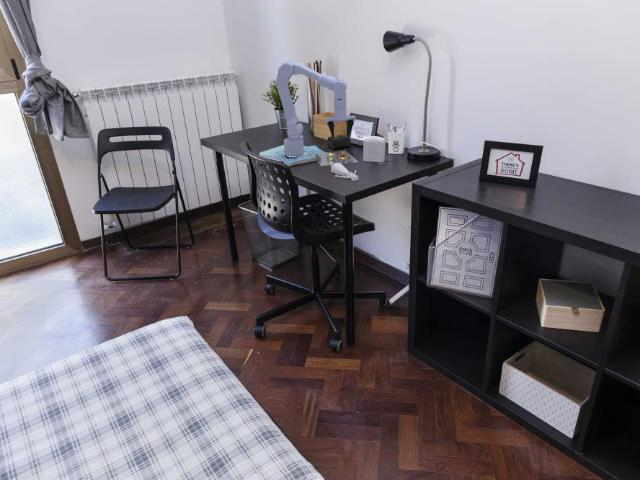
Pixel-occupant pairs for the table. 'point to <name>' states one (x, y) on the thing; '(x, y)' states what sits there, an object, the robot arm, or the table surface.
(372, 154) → the photo printer
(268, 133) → the table surface
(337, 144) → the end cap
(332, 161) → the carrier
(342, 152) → the gear
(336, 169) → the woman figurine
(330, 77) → the robot arm
